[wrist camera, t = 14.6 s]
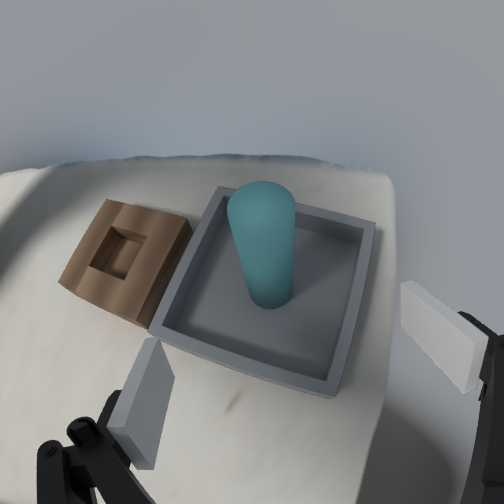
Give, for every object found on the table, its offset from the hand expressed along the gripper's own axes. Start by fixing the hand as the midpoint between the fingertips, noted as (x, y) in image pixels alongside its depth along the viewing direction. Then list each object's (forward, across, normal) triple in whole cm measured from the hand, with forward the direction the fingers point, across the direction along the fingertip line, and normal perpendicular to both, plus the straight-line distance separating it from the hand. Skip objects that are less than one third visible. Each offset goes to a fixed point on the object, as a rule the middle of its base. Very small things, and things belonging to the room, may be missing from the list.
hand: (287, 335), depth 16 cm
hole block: (+18, -14, +1) cm, 22 cm away
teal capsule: (+13, 0, -3) cm, 13 cm away
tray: (+13, 0, -3) cm, 14 cm away
